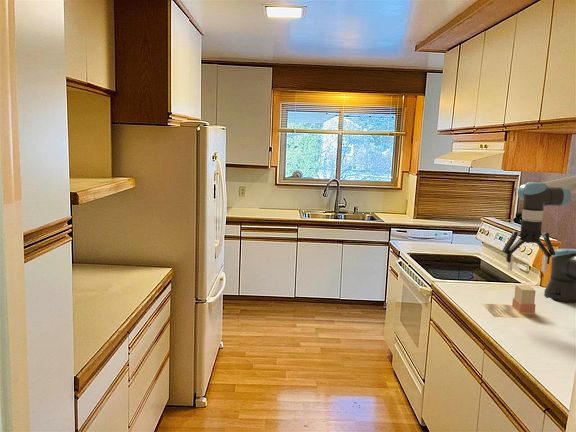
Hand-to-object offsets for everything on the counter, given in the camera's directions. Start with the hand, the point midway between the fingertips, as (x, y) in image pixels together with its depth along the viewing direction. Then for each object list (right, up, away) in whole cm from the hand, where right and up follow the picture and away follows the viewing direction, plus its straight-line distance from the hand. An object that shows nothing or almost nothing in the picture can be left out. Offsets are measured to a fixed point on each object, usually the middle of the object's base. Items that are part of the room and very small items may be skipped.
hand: (526, 270), depth 198 cm
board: (-6, -18, +2) cm, 19 cm away
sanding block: (0, -17, +3) cm, 17 cm away
